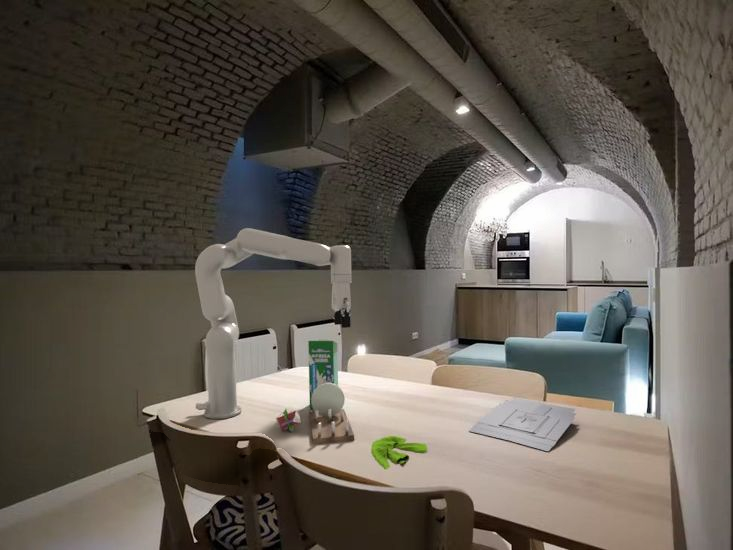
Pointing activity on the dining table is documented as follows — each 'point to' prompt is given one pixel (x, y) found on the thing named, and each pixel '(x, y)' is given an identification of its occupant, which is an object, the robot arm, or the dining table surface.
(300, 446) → the dining table surface
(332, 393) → the sage plate
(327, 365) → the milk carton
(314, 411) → the rack tines
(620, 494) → the dining table surface
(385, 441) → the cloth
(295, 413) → the geometric puzzle
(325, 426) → the dish rack
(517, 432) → the papers
